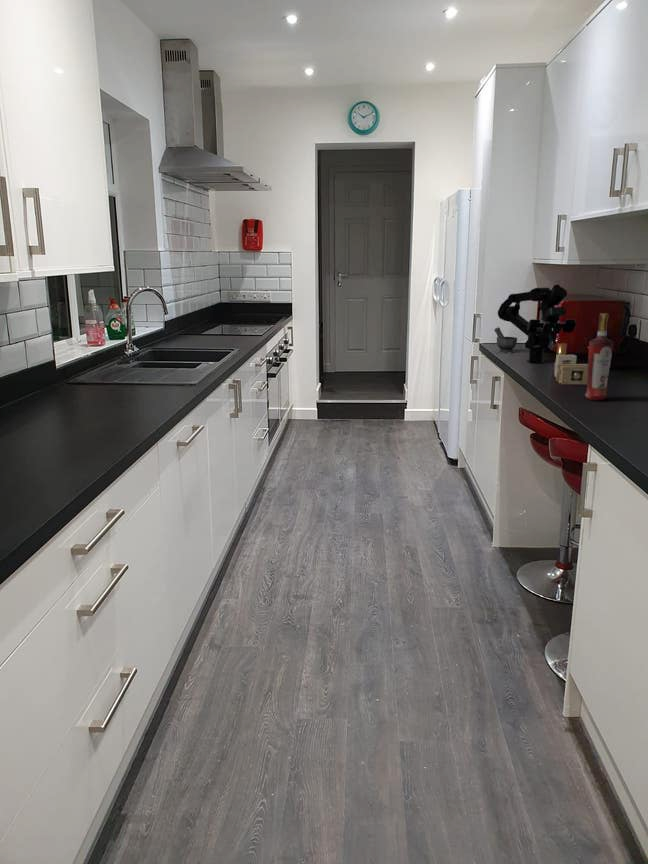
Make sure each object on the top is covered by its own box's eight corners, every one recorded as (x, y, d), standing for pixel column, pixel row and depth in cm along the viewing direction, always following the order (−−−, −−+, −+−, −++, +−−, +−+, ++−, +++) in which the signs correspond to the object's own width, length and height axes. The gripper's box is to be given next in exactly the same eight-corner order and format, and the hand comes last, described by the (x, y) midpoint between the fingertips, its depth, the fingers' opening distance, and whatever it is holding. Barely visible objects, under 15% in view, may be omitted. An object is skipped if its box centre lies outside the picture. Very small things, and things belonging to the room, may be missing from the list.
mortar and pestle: (513, 350, 328) (515, 326, 325) (519, 353, 319) (520, 328, 316) (490, 350, 328) (492, 326, 325) (495, 353, 319) (496, 328, 316)
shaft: (550, 372, 268) (553, 343, 265) (565, 372, 268) (568, 343, 264) (568, 383, 246) (571, 351, 243) (584, 383, 246) (587, 351, 243)
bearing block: (556, 380, 252) (557, 363, 251) (585, 380, 252) (587, 363, 250) (561, 384, 246) (563, 367, 244) (591, 384, 245) (593, 367, 244)
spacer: (554, 376, 261) (556, 354, 259) (572, 376, 261) (574, 354, 259) (556, 377, 258) (558, 356, 256) (574, 377, 258) (576, 356, 256)
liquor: (599, 396, 225) (608, 312, 218) (611, 401, 218) (621, 314, 211) (579, 397, 224) (587, 313, 216) (591, 402, 217) (599, 315, 209)
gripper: (531, 299, 275) (536, 329, 267) (576, 299, 274) (583, 329, 266) (524, 317, 285) (529, 346, 277) (569, 317, 284) (575, 346, 276)
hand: (554, 342), depth 274 cm, fingers closed
